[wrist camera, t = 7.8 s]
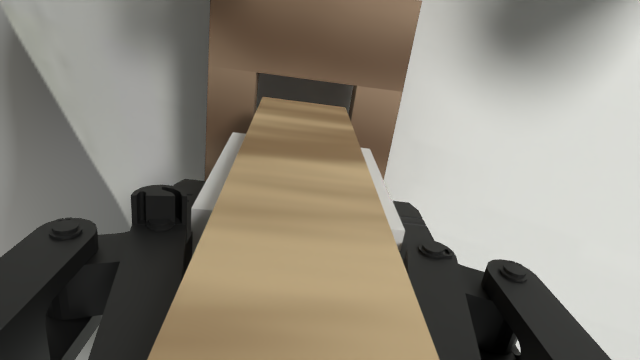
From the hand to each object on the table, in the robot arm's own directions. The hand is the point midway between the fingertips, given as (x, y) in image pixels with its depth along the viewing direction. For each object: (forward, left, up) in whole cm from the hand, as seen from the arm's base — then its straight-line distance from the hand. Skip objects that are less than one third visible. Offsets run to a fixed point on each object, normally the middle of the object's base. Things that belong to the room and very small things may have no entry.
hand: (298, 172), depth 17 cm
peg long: (0, 0, -4) cm, 4 cm away
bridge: (0, 0, -10) cm, 10 cm away
